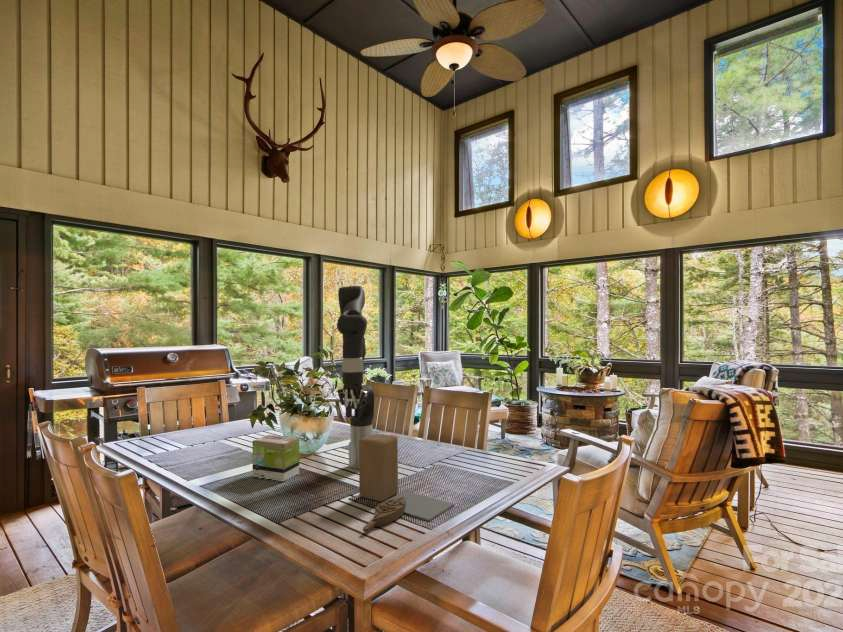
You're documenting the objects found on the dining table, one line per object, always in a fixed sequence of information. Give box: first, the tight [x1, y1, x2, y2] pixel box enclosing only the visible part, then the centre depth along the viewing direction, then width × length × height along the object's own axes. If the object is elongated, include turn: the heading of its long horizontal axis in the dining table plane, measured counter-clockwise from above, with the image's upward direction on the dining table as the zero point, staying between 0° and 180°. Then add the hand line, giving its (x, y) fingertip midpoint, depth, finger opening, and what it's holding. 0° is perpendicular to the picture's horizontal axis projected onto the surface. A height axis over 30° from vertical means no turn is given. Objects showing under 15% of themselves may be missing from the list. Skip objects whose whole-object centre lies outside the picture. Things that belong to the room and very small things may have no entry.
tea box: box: [251, 434, 300, 481], centre depth 176 cm, size 15×10×15 cm
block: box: [358, 432, 399, 503], centre depth 155 cm, size 10×10×20 cm
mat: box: [379, 490, 455, 522], centre depth 146 cm, size 20×14×1 cm
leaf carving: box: [362, 497, 406, 533], centre depth 136 cm, size 7×22×3 cm, turn 154°
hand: (353, 417), depth 163 cm, fingers open, 3 cm apart
